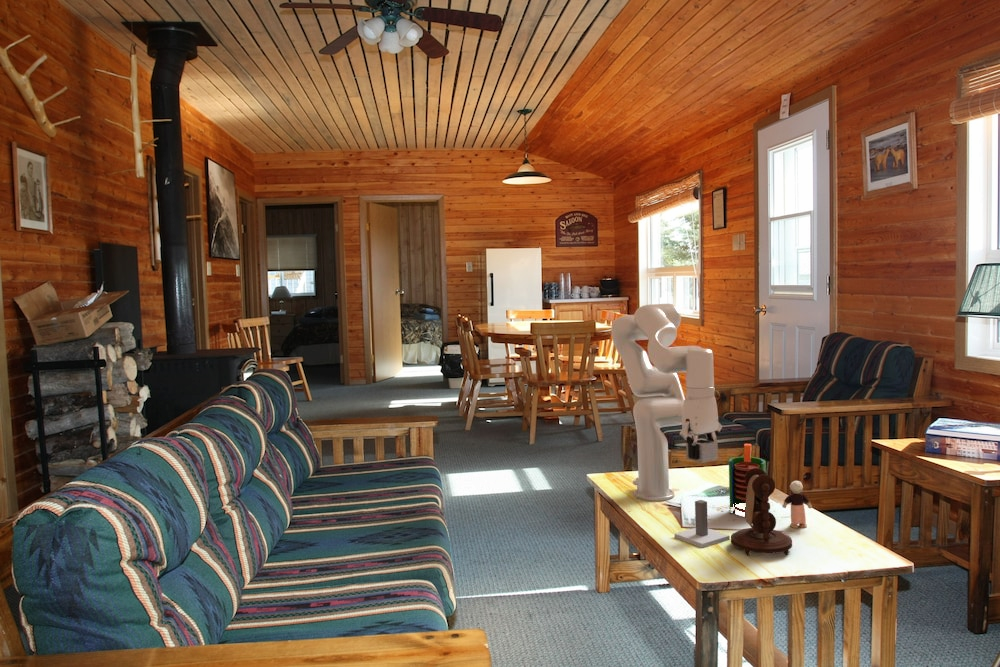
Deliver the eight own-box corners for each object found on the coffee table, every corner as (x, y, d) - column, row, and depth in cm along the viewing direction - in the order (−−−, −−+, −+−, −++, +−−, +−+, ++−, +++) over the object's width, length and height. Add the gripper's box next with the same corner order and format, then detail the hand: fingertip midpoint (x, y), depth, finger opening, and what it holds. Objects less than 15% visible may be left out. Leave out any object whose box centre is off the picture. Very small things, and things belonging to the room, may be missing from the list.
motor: (730, 517, 216) (729, 448, 214) (728, 507, 224) (727, 442, 223) (767, 518, 213) (766, 449, 212) (764, 508, 222) (763, 442, 221)
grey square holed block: (686, 459, 210) (686, 441, 210) (701, 455, 213) (701, 438, 213) (702, 462, 205) (702, 444, 204) (717, 459, 208) (717, 441, 208)
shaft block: (674, 537, 201) (673, 500, 201) (701, 529, 206) (700, 493, 206) (702, 547, 193) (701, 509, 192) (729, 539, 198) (728, 502, 197)
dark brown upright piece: (724, 539, 198) (723, 464, 197) (781, 537, 197) (780, 463, 196) (739, 559, 184) (737, 479, 182) (800, 558, 183) (799, 478, 181)
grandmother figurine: (806, 523, 208) (805, 478, 207) (813, 527, 204) (813, 481, 203) (780, 525, 207) (779, 480, 206) (787, 529, 203) (786, 483, 202)
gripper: (711, 388, 215) (713, 450, 217) (667, 395, 206) (669, 459, 208) (732, 390, 209) (733, 454, 210) (687, 398, 200) (689, 464, 201)
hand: (701, 456), depth 209 cm, fingers closed on grey square holed block, 6 cm apart
